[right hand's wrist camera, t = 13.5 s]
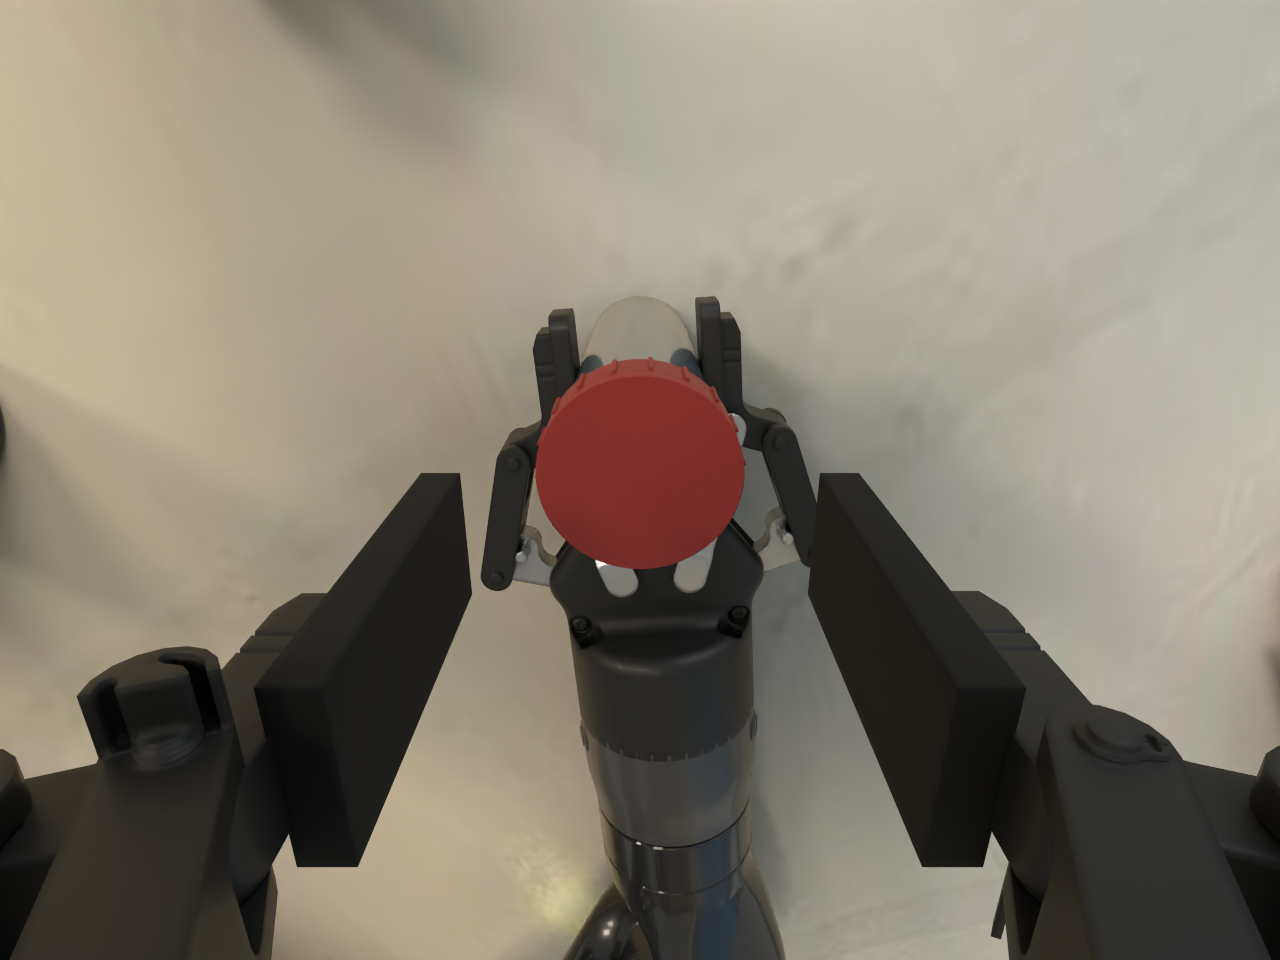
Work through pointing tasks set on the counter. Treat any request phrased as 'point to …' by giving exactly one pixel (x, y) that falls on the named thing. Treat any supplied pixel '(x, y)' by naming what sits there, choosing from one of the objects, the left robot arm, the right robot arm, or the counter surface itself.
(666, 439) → the lid
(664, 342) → the jar
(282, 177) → the counter surface
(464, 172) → the counter surface
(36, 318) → the counter surface
